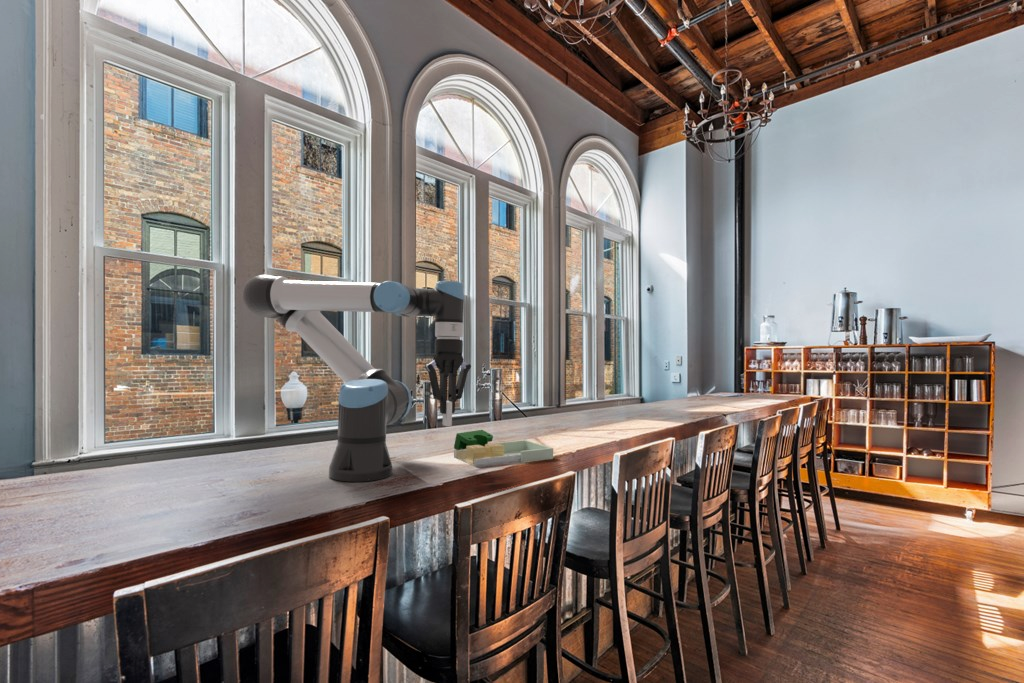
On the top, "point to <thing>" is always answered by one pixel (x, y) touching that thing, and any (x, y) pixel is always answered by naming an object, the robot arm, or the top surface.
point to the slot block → (487, 459)
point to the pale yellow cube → (494, 450)
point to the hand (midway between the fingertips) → (447, 425)
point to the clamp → (472, 439)
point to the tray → (527, 450)
